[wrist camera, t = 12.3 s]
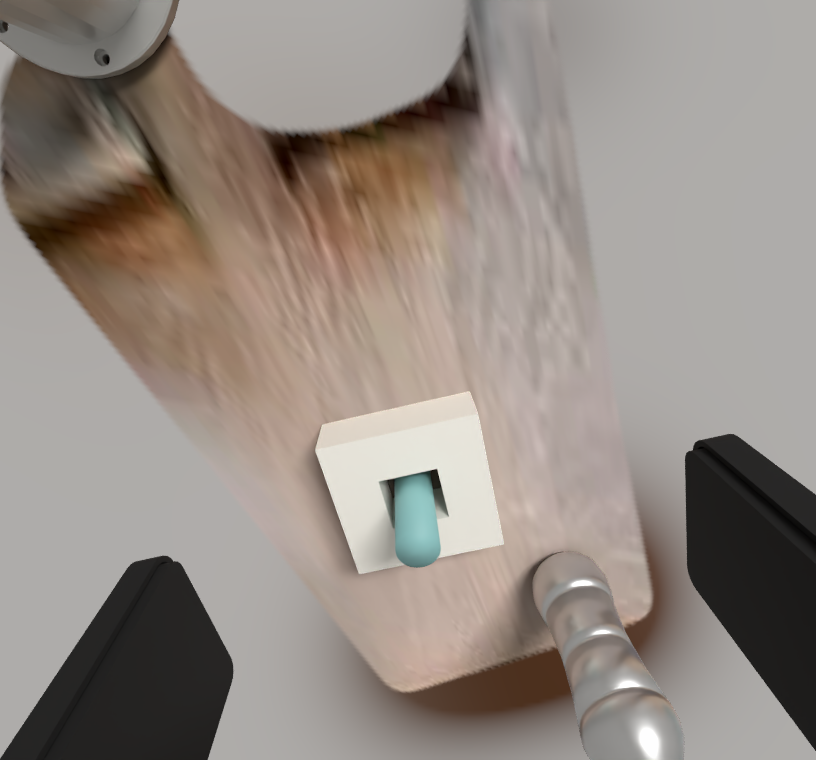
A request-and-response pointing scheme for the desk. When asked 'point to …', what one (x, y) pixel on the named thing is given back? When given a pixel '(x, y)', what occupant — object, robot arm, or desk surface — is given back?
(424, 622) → the desk surface
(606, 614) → the plastic bottle
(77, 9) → the robot arm
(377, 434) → the hole block
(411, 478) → the peg
